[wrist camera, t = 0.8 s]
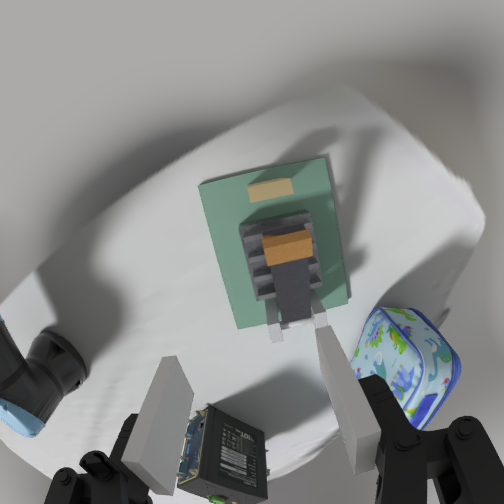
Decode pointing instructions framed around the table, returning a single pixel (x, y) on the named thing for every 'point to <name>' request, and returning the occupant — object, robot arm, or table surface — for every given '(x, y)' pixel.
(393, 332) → the lunch box
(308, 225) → the heatsink
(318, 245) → the board
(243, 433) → the router
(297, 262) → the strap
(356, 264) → the table surface
